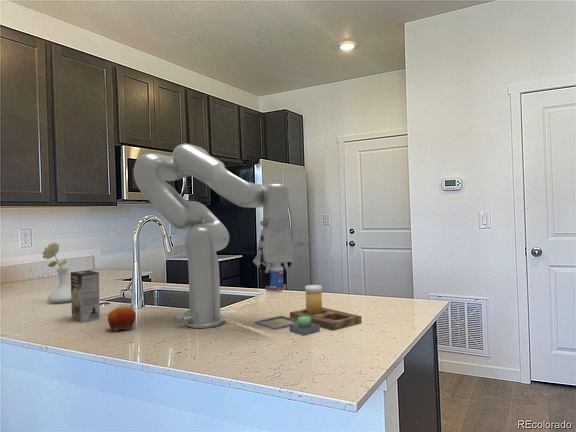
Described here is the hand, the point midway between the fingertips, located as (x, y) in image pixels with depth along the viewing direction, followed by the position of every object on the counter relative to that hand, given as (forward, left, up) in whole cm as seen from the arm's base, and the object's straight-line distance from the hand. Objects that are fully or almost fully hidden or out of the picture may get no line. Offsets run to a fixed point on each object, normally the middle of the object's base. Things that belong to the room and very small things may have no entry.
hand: (274, 284), depth 129 cm
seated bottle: (+13, -4, -12) cm, 18 cm away
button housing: (+1, -13, -13) cm, 18 cm away
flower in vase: (-40, +94, -13) cm, 103 cm away
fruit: (-35, +31, -13) cm, 49 cm away
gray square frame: (+1, -1, -13) cm, 13 cm away
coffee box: (-40, +54, -13) cm, 69 cm away
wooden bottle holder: (+13, -8, -13) cm, 20 cm away
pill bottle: (0, 0, -2) cm, 2 cm away
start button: (+1, -13, -10) cm, 16 cm away
